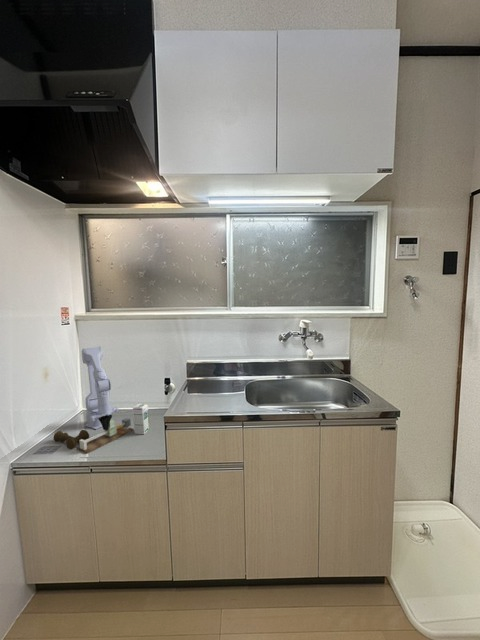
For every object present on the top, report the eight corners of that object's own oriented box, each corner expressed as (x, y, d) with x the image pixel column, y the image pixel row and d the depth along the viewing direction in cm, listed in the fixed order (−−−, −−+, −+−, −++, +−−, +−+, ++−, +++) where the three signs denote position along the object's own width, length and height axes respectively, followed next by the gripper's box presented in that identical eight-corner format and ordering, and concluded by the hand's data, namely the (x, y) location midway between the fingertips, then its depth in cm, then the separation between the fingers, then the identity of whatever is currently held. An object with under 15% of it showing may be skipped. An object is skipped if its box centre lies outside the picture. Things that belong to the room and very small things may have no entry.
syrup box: (144, 434, 164) (143, 407, 163) (134, 433, 165) (132, 407, 164) (149, 429, 170) (148, 403, 168) (139, 428, 171) (138, 403, 169)
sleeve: (110, 436, 159) (109, 422, 158) (105, 434, 161) (104, 421, 160) (116, 433, 162) (115, 420, 162) (112, 431, 164) (111, 418, 164)
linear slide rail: (84, 450, 147) (83, 440, 147) (80, 448, 149) (79, 438, 149) (131, 427, 170) (130, 419, 170) (126, 426, 172) (126, 417, 172)
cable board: (86, 453, 146) (86, 451, 146) (76, 449, 150) (76, 447, 150) (133, 430, 169) (133, 428, 169) (123, 427, 173) (123, 425, 173)
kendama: (66, 437, 164) (95, 442, 157) (49, 446, 155) (79, 452, 148) (64, 426, 163) (94, 430, 156) (47, 435, 154) (78, 440, 147)
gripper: (95, 410, 149) (97, 437, 151) (121, 400, 161) (122, 425, 163) (86, 407, 153) (88, 433, 154) (112, 397, 165) (114, 422, 167)
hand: (105, 429), depth 159 cm, fingers closed
